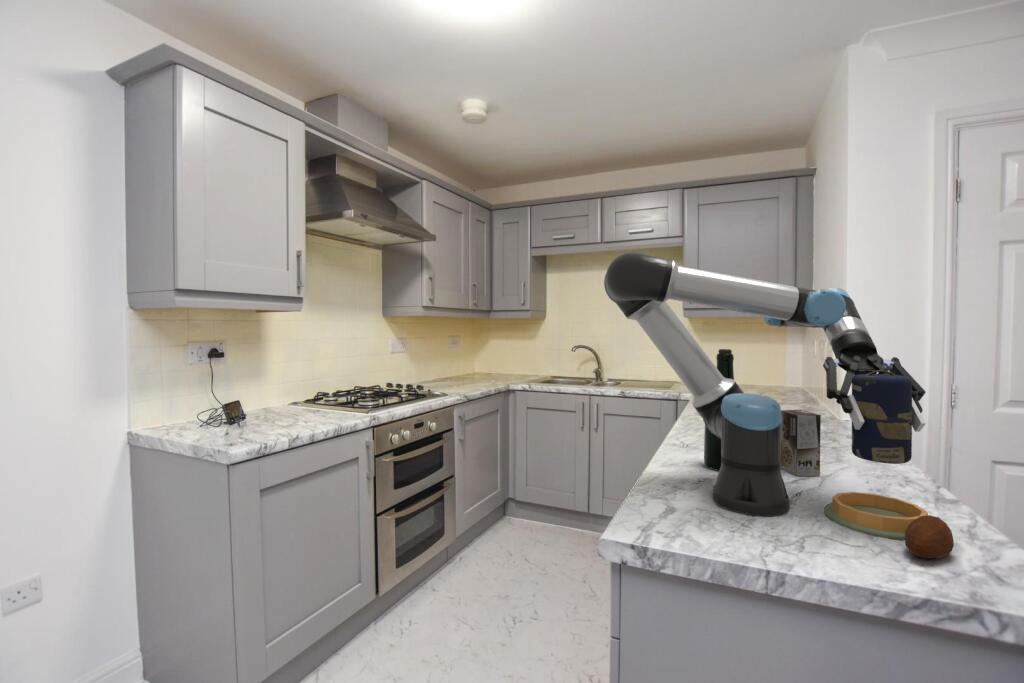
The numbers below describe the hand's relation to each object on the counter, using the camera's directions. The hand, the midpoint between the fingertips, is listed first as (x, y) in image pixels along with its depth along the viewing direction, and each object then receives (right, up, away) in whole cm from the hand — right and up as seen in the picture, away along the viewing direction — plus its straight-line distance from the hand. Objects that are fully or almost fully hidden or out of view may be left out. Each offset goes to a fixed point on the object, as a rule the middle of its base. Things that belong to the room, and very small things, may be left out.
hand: (889, 426), depth 91 cm
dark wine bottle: (-13, -19, +41) cm, 47 cm away
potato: (-2, -20, -11) cm, 23 cm away
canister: (+1, -8, +3) cm, 8 cm away
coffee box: (+5, -19, +37) cm, 42 cm away
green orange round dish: (0, -19, +3) cm, 20 cm away
